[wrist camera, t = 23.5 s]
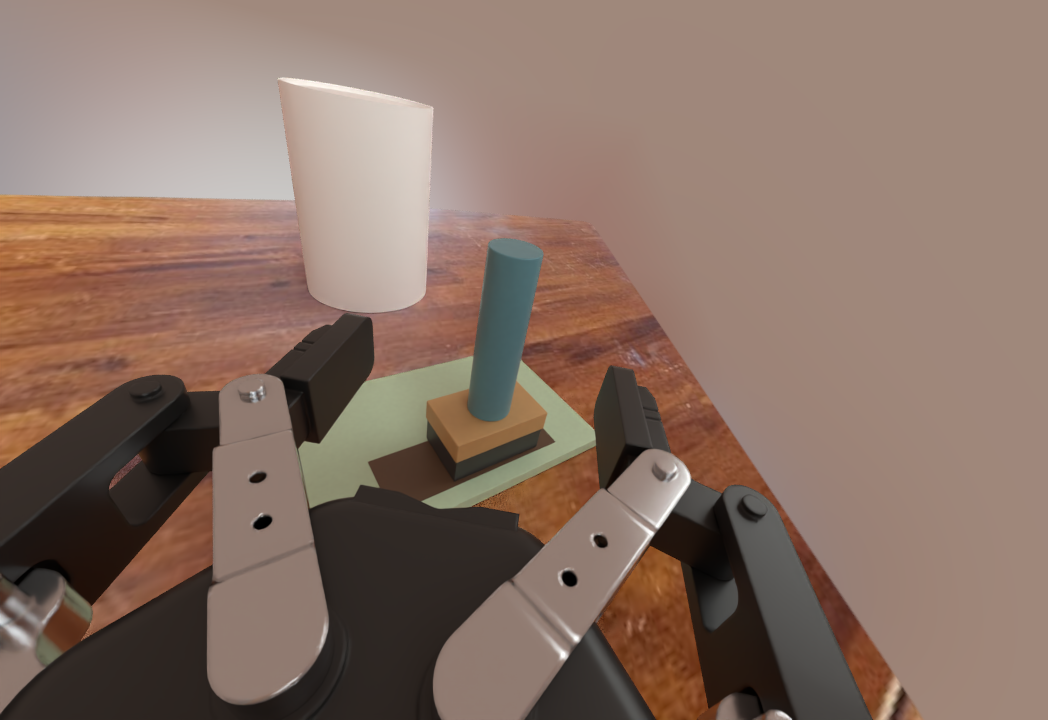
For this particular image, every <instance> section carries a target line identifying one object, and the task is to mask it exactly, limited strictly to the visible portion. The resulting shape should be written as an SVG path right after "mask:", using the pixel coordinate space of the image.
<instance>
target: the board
mask: <svg viewBox="0 0 1048 720" xmlns="http://www.w3.org/2000/svg"><path fill="white" fill-rule="evenodd" d="M472 364H473V356H471V357H467V358H463V359H458V360H454V361H450V362H446V363H441V364H437V365H433V366H429V367H425V368H420V369H416V370H412V371H408V372H403V373H399V374H395V375H391V376H386V377H382V378H378V379H374V380H370V381H365V382H364V383H363V384H362V386H361V387H360V388H359V390H358V391H357V393H356V394H355V395H354V397H353V398H352V400H351V401H350V402H349V404H348V405H347V406H346V408H345V409H344V411H343V412H342V413H341V415H340V416H339V418H338V419H337V420H336V422H335V423H334V425H333V426H332V427H331V429H330V430H329V431H328V433H327V434H326V436H325V437H324V438H323V440H322V441H321V443H320V444H316V443H311V442H306V441H304V442H303V443H302V445H301V446H300V447H299V449H298V450H299V455H300V459H301V464H302V469H303V474H304V479H305V484H306V489H307V493H308V498H309V503H310V508H312V507H314V506H316V505H319V504H322V503H325V502H327V501H331V500H335V499H340V498H346V497H354V496H355V494H356V492H357V490H358V488H359V486H360V485H366V486H371V487H377V488H382V489H388V490H393V491H398V492H401V493H404V494H406V495H408V496H410V497H412V498H414V499H417V500H419V501H421V502H423V503H425V504H428V505H430V506H432V507H434V508H438V509H445V508H466V507H471V506H473V505H475V504H477V503H479V502H481V501H483V500H485V499H488V498H490V497H492V496H494V495H496V494H498V493H500V492H502V491H504V490H506V489H508V488H510V487H512V486H514V485H516V484H518V483H520V482H522V481H525V480H527V479H529V478H531V477H533V476H535V475H537V474H539V473H541V472H543V471H545V470H547V469H549V468H551V467H553V466H555V465H557V464H559V463H561V462H564V461H566V460H568V459H570V458H572V457H574V456H576V455H578V454H580V453H582V452H584V451H586V450H588V449H590V448H592V447H594V446H596V438H595V430H594V429H593V428H592V427H591V426H590V425H589V424H588V423H586V422H585V421H584V420H583V419H582V418H581V417H580V416H579V415H578V414H577V413H576V412H575V411H574V410H573V409H572V408H571V407H570V406H569V405H568V404H567V403H566V402H564V401H563V400H562V399H561V398H560V397H559V396H558V395H557V394H556V393H555V392H554V391H553V390H552V389H551V388H550V387H549V386H548V385H547V384H546V383H545V382H544V381H542V380H541V379H540V378H539V377H538V376H537V375H536V374H535V373H534V372H533V371H532V370H531V369H530V368H529V367H528V366H527V365H526V364H525V363H524V362H523V361H520V366H519V370H518V375H517V380H516V381H517V382H518V383H519V384H520V385H521V386H522V387H523V388H524V389H525V390H526V391H527V392H528V393H529V394H530V395H531V396H532V397H533V398H534V399H535V400H536V401H537V402H538V403H539V404H540V405H541V406H542V408H543V409H544V410H545V411H546V412H547V417H546V420H545V424H544V427H543V428H542V429H541V431H540V435H539V438H538V442H537V445H536V447H534V448H532V449H529V450H527V451H525V452H522V453H520V454H518V455H515V456H513V457H511V458H508V459H506V460H504V461H501V462H499V463H497V464H494V465H492V466H490V467H488V468H485V469H483V470H481V471H478V472H476V473H474V474H471V475H469V476H467V477H464V478H462V479H460V480H457V481H455V482H454V481H453V479H452V478H451V476H450V474H449V473H448V471H447V470H446V468H445V466H444V465H443V463H442V462H441V460H440V459H439V457H438V455H437V454H436V452H435V451H434V449H433V447H432V446H431V444H430V443H429V441H428V439H427V418H426V407H427V401H428V400H432V399H435V398H439V397H442V396H446V395H449V394H453V393H456V392H460V391H463V390H467V389H469V387H470V379H471V371H472Z"/></svg>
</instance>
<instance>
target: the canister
mask: <svg viewBox="0 0 1048 720" xmlns="http://www.w3.org/2000/svg"><path fill="white" fill-rule="evenodd" d="M278 85H279V92H280V98H281V105H282V112H283V120H284V126H285V133H286V140H287V147H288V153H289V161H290V168H291V175H292V182H293V189H294V196H295V203H296V210H297V217H298V224H299V231H300V238H301V245H302V251H303V258H304V265H305V272H306V279H307V286H308V291H309V293H310V294H311V295H312V296H313V297H314V298H315V299H316V300H318V301H319V302H321V303H323V304H325V305H328V306H330V307H333V308H337V309H341V310H346V311H352V312H362V313H380V312H390V311H396V310H400V309H404V308H407V307H409V306H412V305H414V304H416V303H417V302H419V301H420V300H421V299H422V298H423V297H424V295H425V293H426V274H427V250H428V226H429V202H430V200H429V199H430V178H431V177H430V175H431V154H432V129H433V107H431V106H429V105H426V104H423V103H419V102H416V101H412V100H407V99H404V98H399V97H395V96H391V95H386V94H381V93H376V92H371V91H367V90H361V89H357V88H351V87H345V86H340V85H334V84H329V83H322V82H316V81H309V80H301V79H294V78H278Z"/></svg>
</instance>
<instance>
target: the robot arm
mask: <svg viewBox="0 0 1048 720" xmlns="http://www.w3.org/2000/svg"><path fill="white" fill-rule="evenodd" d="M373 364H374V342H373V325H372V320H371V318H369V317H364V316H359V315H354V314H349V313H345V314H344V315H343V316H342V317H341V318H340V319H339V320H337V321H336V322H335V323H334V324H333V325H325V326H323V327H320V328H318V329H316V330H313V331H312V332H311V333H309V334H308V335H307V336H306V337H305V338H304V339H303V340H302V342H299V343H298V344H297V345H296V346H295V347H294V350H291V351H290V352H288V353H287V354H286V355H285V356H284V357H283V358H282V359H281V360H280V361H278V362H277V363H276V364H275V365H274V366H273V367H272V368H271V369H270V370H269V371H267V372H266V373H265V374H253V375H247V376H243V377H240V378H237V379H235V380H233V381H231V382H229V383H228V384H226V385H225V386H224V387H223V388H222V390H221V391H202V392H187V390H186V388H185V385H184V383H183V381H182V380H181V379H179V378H178V377H175V376H171V375H152V376H146V377H141V378H138V379H134V380H132V381H129V382H127V383H125V384H123V385H121V386H119V387H118V388H116V389H115V390H113V391H112V392H110V393H109V394H107V395H106V396H104V397H103V398H102V399H100V400H99V401H97V402H96V403H94V404H93V405H92V406H90V407H89V408H87V409H86V410H84V411H83V412H81V413H80V414H79V415H77V416H76V417H74V418H73V419H71V420H70V421H69V422H67V423H66V424H64V425H63V426H61V427H60V428H58V429H57V430H56V431H54V432H53V433H51V434H50V435H48V436H47V437H45V438H44V439H43V440H41V441H40V442H38V443H37V444H35V445H34V446H33V447H31V448H30V449H28V450H27V451H25V452H24V453H22V454H21V455H20V456H18V457H17V458H15V459H14V460H12V461H11V462H10V463H8V464H7V465H5V466H4V467H2V468H1V469H0V720H656V719H655V717H654V715H653V714H652V712H651V710H650V709H649V707H648V706H647V704H646V702H645V701H644V699H643V698H642V696H641V694H640V693H639V691H638V690H637V688H636V686H635V685H634V683H633V681H632V680H631V678H630V677H629V675H628V673H627V672H626V670H625V669H624V667H623V665H622V664H621V662H620V660H619V659H618V657H617V656H616V654H615V652H614V651H613V649H612V648H611V646H610V644H609V643H608V641H607V640H606V638H605V636H604V635H603V633H602V631H601V630H600V628H599V627H598V625H597V623H598V621H599V620H600V618H601V617H602V615H603V614H604V612H605V611H606V609H607V608H608V606H609V605H610V603H611V602H612V600H613V599H614V597H615V596H616V595H617V593H618V592H619V590H620V589H621V587H622V586H623V584H624V583H625V581H626V580H627V578H628V577H629V576H630V574H631V573H632V571H633V570H634V568H635V567H636V565H637V564H638V563H639V561H640V560H641V558H642V557H643V555H644V554H645V552H646V551H647V549H648V548H649V547H650V546H652V547H654V548H656V549H658V550H660V551H662V552H664V553H666V554H668V555H670V556H672V557H674V558H676V559H678V560H680V561H681V566H682V571H683V577H684V582H685V587H686V592H687V598H688V603H689V608H690V613H691V619H692V624H693V629H694V634H695V640H696V645H697V650H698V655H699V661H700V666H701V671H702V676H703V682H704V687H705V692H706V697H707V703H708V708H709V709H708V710H707V711H705V712H704V713H702V714H701V715H700V716H699V717H698V718H697V720H873V719H872V717H871V715H870V713H869V710H868V708H867V706H866V704H865V702H864V699H863V697H862V695H861V693H860V691H859V688H858V686H857V684H856V682H855V680H854V677H853V675H852V673H851V671H850V669H849V666H848V664H847V662H846V660H845V658H844V655H843V653H842V651H841V649H840V647H839V644H838V642H837V640H836V638H835V636H834V633H833V631H832V629H831V627H830V625H829V622H828V620H827V618H826V616H825V614H824V611H823V609H822V607H821V605H820V603H819V600H818V598H817V596H816V594H815V592H814V589H813V587H812V585H811V583H810V581H809V578H808V576H807V574H806V572H805V570H804V567H803V565H802V563H801V561H800V559H799V556H798V554H797V552H796V550H795V548H794V545H793V543H792V541H791V539H790V537H789V534H788V532H787V530H786V528H785V526H784V523H783V521H782V519H781V517H780V515H779V513H778V511H777V509H776V508H775V507H774V505H773V504H772V503H771V502H770V501H769V500H768V499H767V498H766V497H764V496H763V495H762V494H760V493H759V492H757V491H755V490H753V489H751V488H749V487H746V486H742V485H731V486H728V487H727V488H726V489H725V490H724V492H723V493H720V492H718V491H716V490H713V489H711V488H709V487H707V486H704V485H702V484H700V483H698V482H696V481H694V480H693V479H691V475H690V472H689V470H688V468H687V467H686V465H685V464H684V463H683V462H682V461H681V460H680V459H679V458H677V457H676V456H674V455H673V454H671V451H670V447H669V444H668V441H667V437H666V434H665V431H664V427H663V424H662V422H661V417H660V414H659V412H658V407H657V404H656V400H655V398H654V397H653V396H652V394H651V393H650V392H649V391H648V389H647V388H646V387H642V386H637V382H636V378H635V374H634V371H633V370H632V369H627V368H622V367H616V366H610V367H609V368H608V370H607V373H606V376H605V378H604V381H603V384H602V386H601V389H600V392H599V395H598V397H597V400H596V404H595V409H594V427H595V438H596V450H597V461H598V473H599V484H600V490H599V491H598V492H596V494H595V495H594V496H593V497H592V498H591V499H590V500H589V501H588V502H587V503H586V504H585V505H584V506H583V507H582V508H581V509H580V510H579V511H578V512H577V513H576V514H575V515H574V516H573V517H572V518H571V519H570V520H569V521H568V522H567V523H566V524H565V525H564V526H563V527H562V528H561V530H560V531H559V532H558V533H557V534H556V535H555V536H554V537H553V538H552V539H551V540H550V541H549V542H548V543H547V544H546V545H544V544H543V543H542V542H541V541H540V540H539V539H537V538H536V537H535V536H534V535H532V534H531V533H529V532H527V531H526V530H524V529H522V528H520V527H518V521H519V514H516V513H511V512H506V511H500V510H495V509H489V508H484V507H466V508H445V509H438V508H434V507H432V506H430V505H428V504H425V503H423V502H421V501H419V500H417V499H414V498H412V497H410V496H408V495H406V494H404V493H401V492H398V491H393V490H388V489H382V488H377V487H371V486H366V485H360V486H359V488H358V490H357V492H356V494H355V496H354V497H346V498H340V499H335V500H331V501H327V502H325V503H322V504H319V505H316V506H314V507H312V508H310V503H309V498H308V493H307V489H306V484H305V479H304V474H303V469H302V464H301V459H300V455H299V450H298V449H299V447H300V446H301V445H302V443H303V442H304V441H306V442H311V443H316V444H320V443H321V441H322V440H323V438H324V437H325V436H326V434H327V433H328V431H329V430H330V429H331V427H332V426H333V425H334V423H335V422H336V420H337V419H338V418H339V416H340V415H341V413H342V412H343V411H344V409H345V408H346V406H347V405H348V404H349V402H350V401H351V400H352V398H353V397H354V395H355V394H356V393H357V391H358V390H359V388H360V387H361V386H362V384H363V383H364V381H365V380H366V379H367V377H368V376H369V374H370V373H371V370H372V368H373ZM137 454H139V456H140V458H141V459H142V461H141V462H139V463H138V464H137V465H136V466H135V467H134V468H133V469H132V470H131V471H130V472H129V473H128V474H126V475H125V476H124V477H123V478H122V479H121V480H120V481H119V482H118V483H117V484H116V485H114V486H113V487H112V488H111V489H110V490H109V485H110V482H111V480H112V479H113V477H114V476H115V474H116V473H117V472H118V471H119V470H120V469H122V468H123V467H124V466H125V465H126V464H127V463H128V462H129V461H130V460H132V459H133V458H134V457H135V456H136V455H137ZM209 471H213V564H212V565H211V566H209V567H207V568H206V569H204V570H202V571H200V572H199V573H197V574H195V575H194V576H192V577H190V578H188V579H187V580H185V581H183V582H182V583H180V584H178V585H176V586H175V587H173V588H171V589H170V590H168V591H166V592H164V593H163V594H161V595H159V596H158V597H156V598H154V599H152V600H151V601H149V602H147V603H146V604H144V605H142V606H140V607H139V608H137V609H135V610H134V611H132V612H130V613H128V614H127V615H125V616H123V617H121V618H120V619H118V620H116V621H115V622H113V623H111V624H109V625H108V626H106V627H104V628H103V629H101V630H99V631H97V632H96V633H94V634H92V635H90V636H89V637H87V638H86V639H84V640H82V641H81V639H82V637H83V636H84V634H85V633H86V631H87V630H88V628H89V626H90V623H91V620H92V615H93V611H92V607H91V606H92V605H93V604H94V603H95V602H96V600H97V599H98V598H99V597H100V596H101V595H102V594H103V592H104V591H105V590H106V589H107V588H108V587H109V586H110V584H111V583H112V582H113V581H114V580H115V579H116V578H117V576H118V575H119V574H120V573H121V572H122V571H123V570H124V568H125V567H126V566H127V565H128V564H129V563H130V562H131V560H132V559H133V558H134V557H135V556H136V555H137V554H138V552H139V551H140V550H141V549H142V548H143V547H144V546H145V544H146V543H147V542H148V541H149V540H150V539H151V538H152V536H153V535H154V534H155V533H156V532H157V531H158V530H159V528H160V527H161V526H162V525H163V524H164V523H165V522H166V520H167V519H168V518H169V517H170V516H171V515H172V514H173V512H174V511H175V510H176V509H177V508H178V507H179V505H180V504H181V503H182V502H183V501H184V500H185V499H186V497H187V496H188V495H189V494H190V493H191V492H192V491H193V489H194V488H195V487H196V486H197V485H198V484H199V483H200V481H201V480H202V479H203V478H204V477H205V476H206V475H207V473H208V472H209Z"/></svg>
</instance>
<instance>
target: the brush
mask: <svg viewBox="0 0 1048 720" xmlns="http://www.w3.org/2000/svg"><path fill="white" fill-rule="evenodd" d="M542 259H543V251H542V250H541V249H540V248H538V247H537V246H535V245H533V244H530V243H528V242H525V241H521V240H516V239H508V238H501V239H494V240H491V241H490V242H489V243H488V249H487V257H486V264H485V272H484V280H483V287H482V295H481V303H480V310H479V318H478V325H477V333H476V341H475V348H474V356H473V364H472V371H471V379H470V387H469V389H467V390H463V391H460V392H456V393H453V394H449V395H446V396H442V397H439V398H435V399H432V400H428V401H427V407H426V418H427V439H428V441H429V443H430V444H431V446H432V447H433V449H434V451H435V452H436V454H437V455H438V457H439V459H440V460H441V462H442V463H443V465H444V466H445V468H446V470H447V471H448V473H449V474H450V476H451V478H452V479H453V481H454V482H455V481H457V480H460V479H462V478H464V477H467V476H469V475H471V474H474V473H476V472H478V471H481V470H483V469H485V468H488V467H490V466H492V465H494V464H497V463H499V462H501V461H504V460H506V459H508V458H511V457H513V456H515V455H518V454H520V453H522V452H525V451H527V450H529V449H532V448H534V447H536V445H537V442H538V438H539V435H540V431H541V429H542V428H543V427H544V424H545V420H546V417H547V412H546V411H545V410H544V409H543V408H542V406H541V405H540V404H539V403H538V402H537V401H536V400H535V399H534V398H533V397H532V396H531V395H530V394H529V393H528V392H527V391H526V390H525V389H524V388H523V387H522V386H521V385H520V384H519V383H518V382H517V381H516V380H517V375H518V370H519V366H520V361H521V356H522V352H523V347H524V342H525V338H526V333H527V329H528V324H529V319H530V315H531V310H532V305H533V301H534V296H535V292H536V287H537V282H538V278H539V273H540V268H541V264H542Z"/></svg>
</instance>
